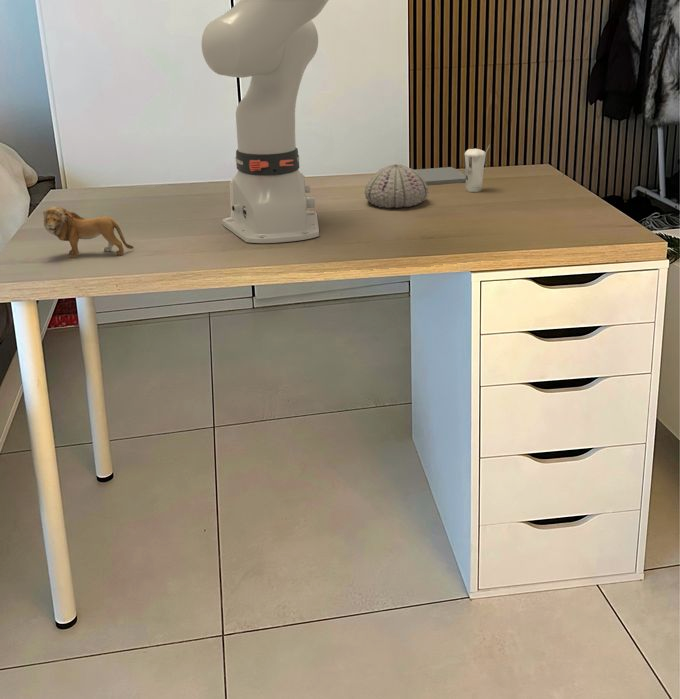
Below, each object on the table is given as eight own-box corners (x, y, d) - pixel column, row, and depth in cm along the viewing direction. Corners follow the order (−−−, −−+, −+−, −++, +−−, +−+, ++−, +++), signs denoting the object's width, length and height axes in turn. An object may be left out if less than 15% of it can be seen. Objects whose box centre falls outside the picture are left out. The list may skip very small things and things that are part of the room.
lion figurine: (48, 262, 158) (40, 211, 154) (49, 253, 163) (42, 204, 159) (134, 255, 161) (129, 204, 158) (133, 246, 166) (128, 197, 162)
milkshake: (489, 192, 199) (491, 146, 195) (464, 193, 199) (466, 146, 195) (486, 188, 203) (488, 142, 199) (462, 188, 203) (463, 143, 199)
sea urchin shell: (438, 207, 188) (439, 168, 185) (377, 214, 184) (377, 174, 181) (412, 193, 200) (412, 156, 197) (354, 199, 196) (354, 162, 193)
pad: (471, 181, 209) (471, 178, 209) (417, 185, 206) (418, 182, 206) (451, 170, 221) (451, 166, 220) (400, 173, 218) (400, 170, 218)
